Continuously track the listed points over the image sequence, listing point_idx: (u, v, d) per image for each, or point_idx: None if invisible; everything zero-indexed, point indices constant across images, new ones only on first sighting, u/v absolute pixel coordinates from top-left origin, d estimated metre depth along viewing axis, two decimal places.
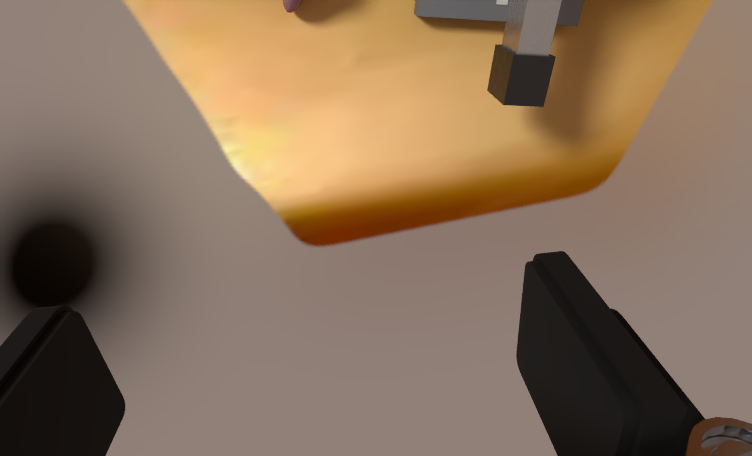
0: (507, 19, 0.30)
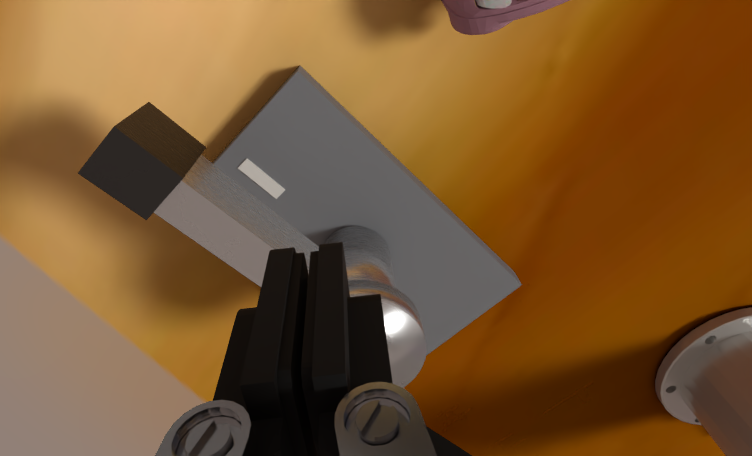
0: (228, 179, 0.22)
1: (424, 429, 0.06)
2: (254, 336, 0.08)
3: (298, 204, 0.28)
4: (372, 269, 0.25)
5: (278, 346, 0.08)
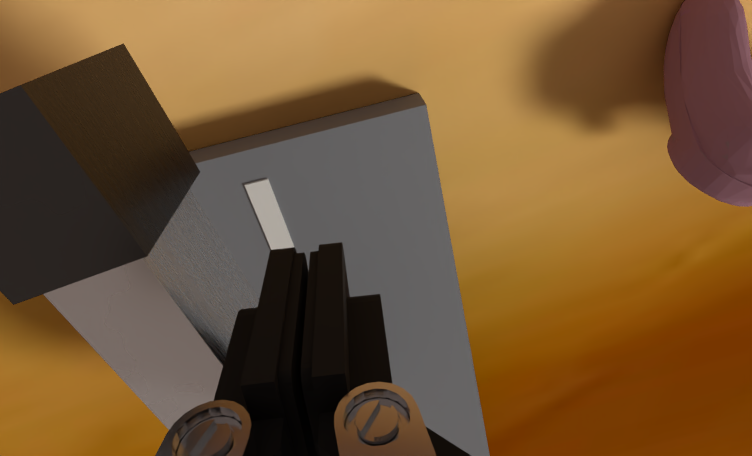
0: (217, 243, 0.11)
1: (424, 429, 0.06)
2: (255, 336, 0.08)
3: None
4: None
5: (279, 346, 0.08)
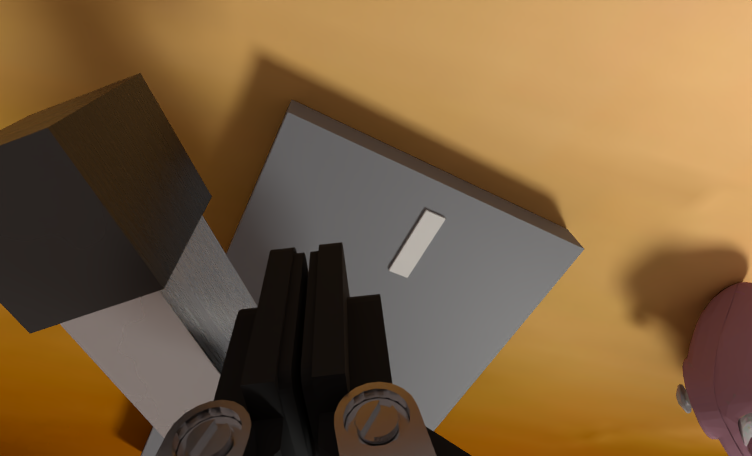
0: (227, 267, 0.11)
1: (424, 429, 0.06)
2: (255, 336, 0.08)
3: (387, 298, 0.18)
4: None
5: (279, 347, 0.08)
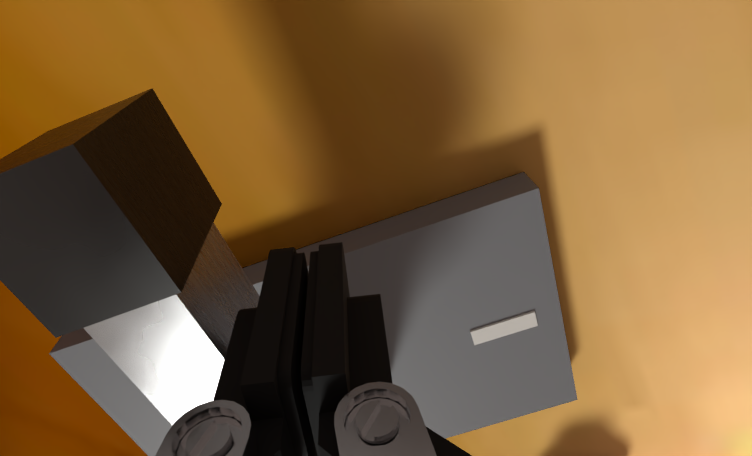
0: (237, 271, 0.12)
1: (424, 429, 0.06)
2: (254, 336, 0.08)
3: (445, 348, 0.20)
4: None
5: (278, 346, 0.08)
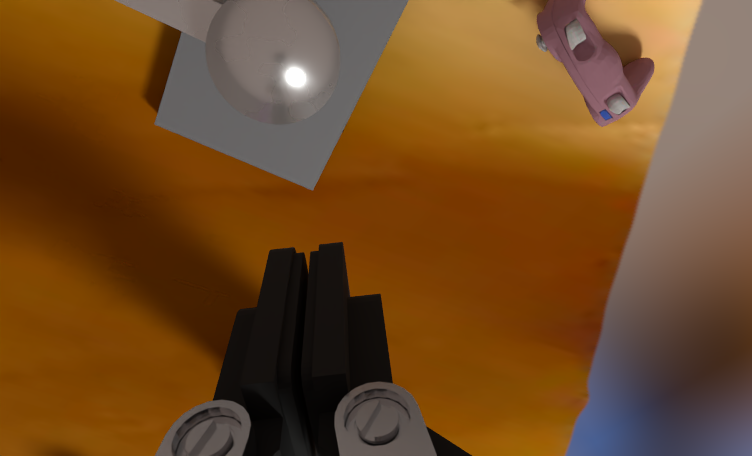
0: None
1: (424, 429, 0.06)
2: (254, 336, 0.08)
3: None
4: None
5: (278, 346, 0.08)
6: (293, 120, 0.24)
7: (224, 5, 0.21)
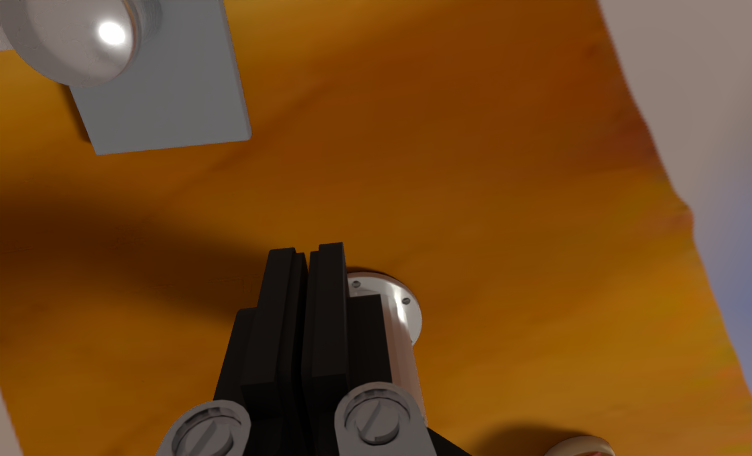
0: None
1: (424, 429, 0.06)
2: (254, 336, 0.08)
3: None
4: None
5: (278, 346, 0.08)
6: (120, 67, 0.26)
7: None
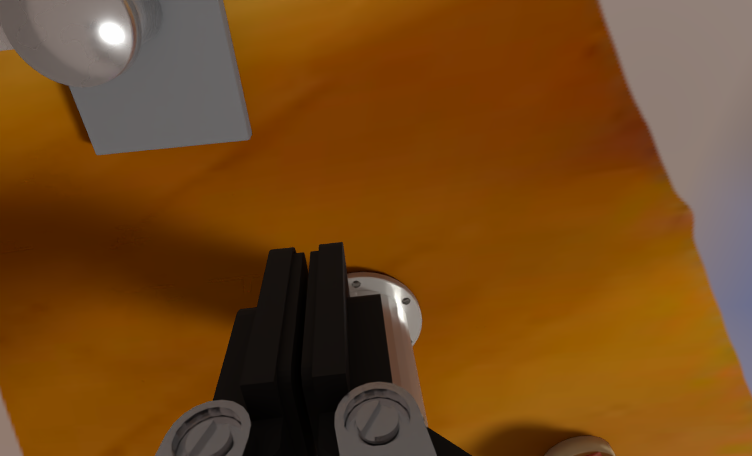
0: None
1: (424, 429, 0.06)
2: (254, 336, 0.08)
3: None
4: None
5: (278, 346, 0.08)
6: (120, 67, 0.26)
7: None
